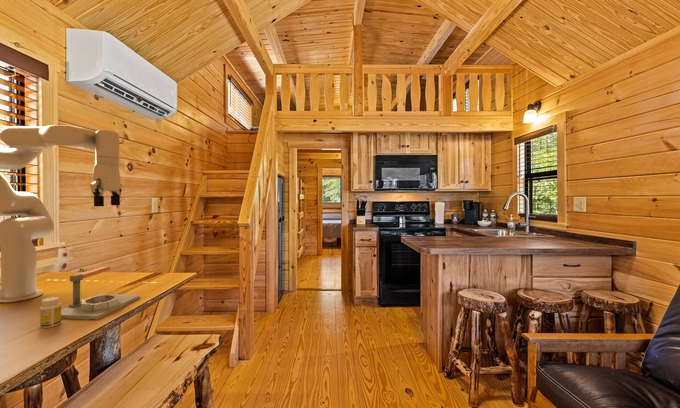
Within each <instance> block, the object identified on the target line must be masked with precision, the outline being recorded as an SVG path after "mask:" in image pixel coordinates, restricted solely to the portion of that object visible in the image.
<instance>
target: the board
mask: <svg viewBox="0 0 680 408" xmlns="http://www.w3.org/2000/svg"><path fill="white" fill-rule="evenodd" d="M105 294H106V293H99V294H97V295H95V296H98V295H105ZM111 294H112V295H118V305H117V306H115V307H113V308H110V309H107V310H102V311H96V312H85V311H81V301H82V300H81V281H75V282H72V302H71V303H68V306H67V307H65V308H61V319H62V318H68V319H67V320H69V318H70V320H89V319H95V320H94V321H97V319H98V320H99V319H101V318H103V317H105V316H107V315H109V314H111V313H113V312H115V311H118V310H119V309H122V307H125V306H126V305H129V304H130V303H132V302H135V301H137V300H138V299H140V298H141V297H140V294H117V293H115V294H114V293H111Z"/></svg>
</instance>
